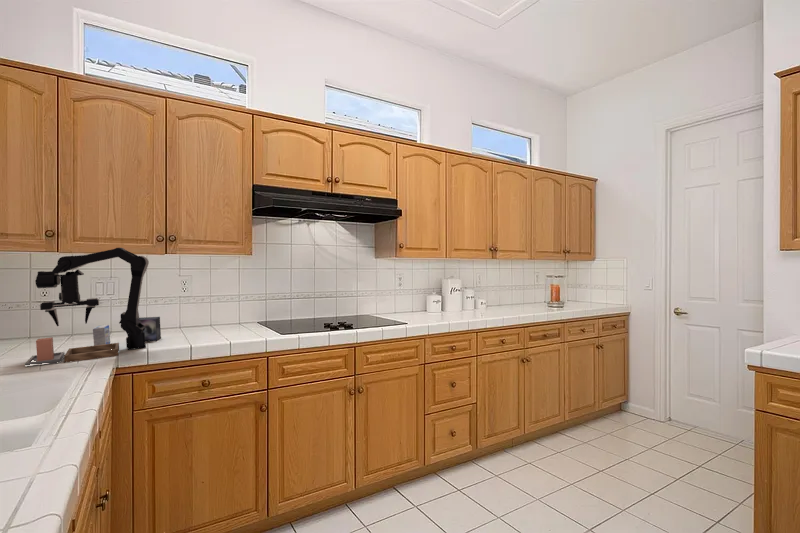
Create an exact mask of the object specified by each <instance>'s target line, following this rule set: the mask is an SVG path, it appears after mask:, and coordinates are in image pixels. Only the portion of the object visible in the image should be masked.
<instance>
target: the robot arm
mask: <svg viewBox="0 0 800 533" xmlns="http://www.w3.org/2000/svg"><path fill="white" fill-rule="evenodd" d="M115 258H119V259H121V260H123V261H125V262H126V263H128V264H130V273H131V280H130V287H129V293H128V299H127V306H126V310H125V311H123V312H122V313H120V320H119V322H118V324H120V328H121V329H122V331H125V332H126V335H127V336H126V338H125V341H126V342H125V343H126V344H125V345H126V348H127V350H129V349H130V350H134V349H135V350H136V349H144V348H146V347H147V345H146V342H145V332H143V331H144V330H145V326H144V325H143V324H141V323H140V322H139V318H140V313H139V306H140V298H141V292H142V285H143V279H144V276H145V274H146V271H147V269H148V267H149V259H148V258H147V257H146V256H144V255H137V254H135V253H133V252H131V251H129V250H127V249H125V248H124V247H116V248H112V249H107V250H102V251H97V252H93V253H89V254H88V253H87V254H82V255H81V254H80V255H65V256H64V255H63V256H61V257H60V258H58V260H57V264H56V266H55V267H54V268H53V270H51V271H44V270H41V271H40V270H39V271H37V274H36V278H35V281H34V282H35V286H36V288H38V289H51V288H52V289H54V288H57V287H58V286H60V292H58V300H59V301H60V302H56V301H55V300H54V301H51V300H50V301H43V302H41V303H40V305H39V308H40V309H39V310H40V311H44V312H45V313H48V314H49V315H50V317H51V318H52V320H53V321H54V323H55V325H56V327H59V326H60V324H59V317H58V314H57V308H62V307H74V306H75V307H76V306H86V307H85V316H84V321H85V322H84V323H85V325H86V324H88V321H89V317H90V315H91V314H90V313H91V311H92V309H95V308H96V307H98V306H100V299H99V298H98V297H92V298H86V300H81V294H80V290H79V289H80V288H79V287H80V285H79V277H78V276H84V275H85V274H84V272H82V271H81V270H80V269H79V268H82V267H84V266H86V265H89V264H93V263H97V262H103V261H106V260H110V259H115ZM73 270H75V271H73ZM62 273H64V274H62ZM130 350H129V351H130Z"/></svg>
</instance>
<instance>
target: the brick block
mask: <svg viewBox="0 0 800 533" xmlns="http://www.w3.org/2000/svg"><path fill="white" fill-rule="evenodd" d="M35 344H36V345H35V346H36V347H35V348H36V355H37V361H44V360H52V359H53V358H54V353H55V350H54V338H53V336H52V337H43V338H38V339H37V340H36V341H35Z"/></svg>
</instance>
